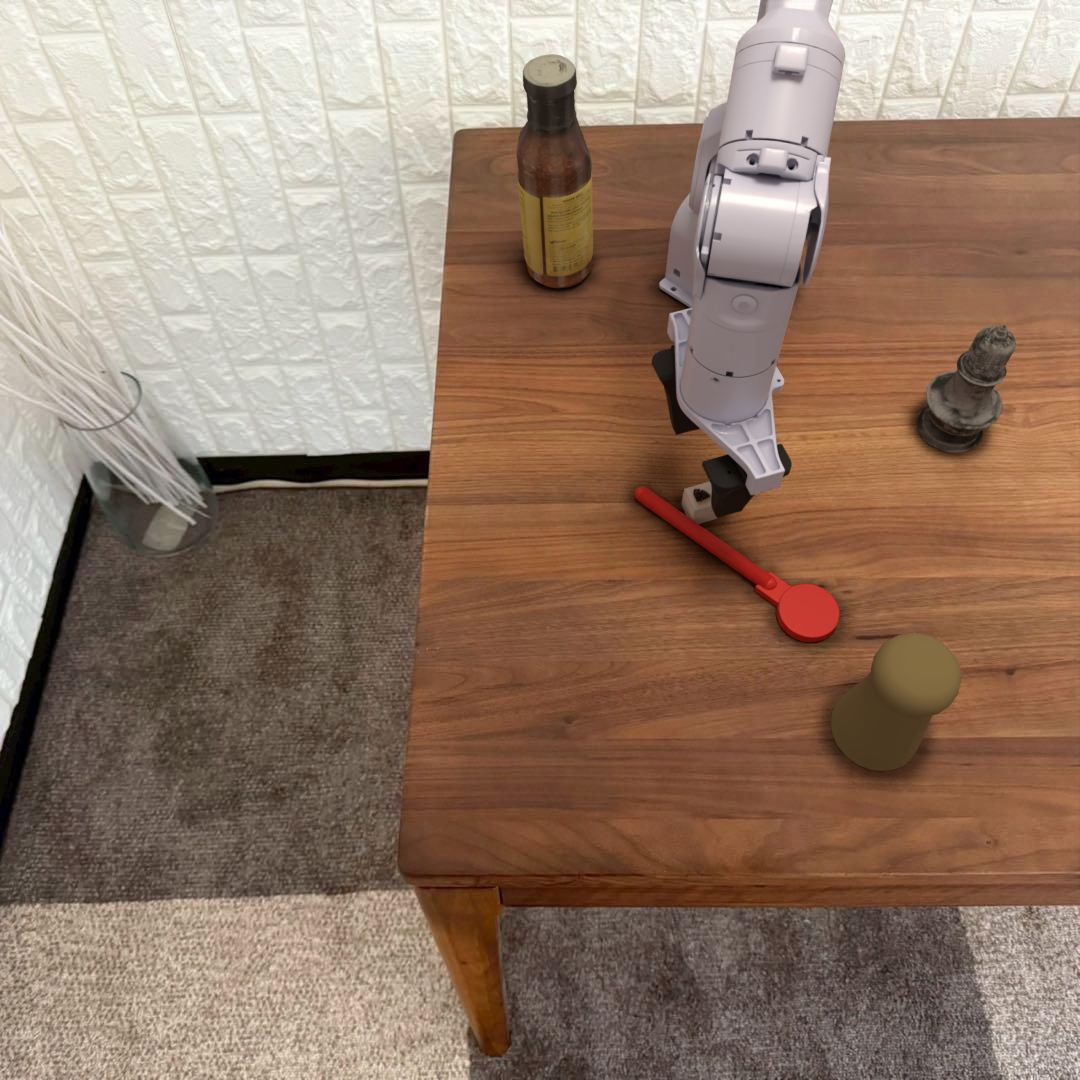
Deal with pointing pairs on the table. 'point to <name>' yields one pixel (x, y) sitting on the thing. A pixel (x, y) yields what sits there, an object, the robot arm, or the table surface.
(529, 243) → the sauce bottle
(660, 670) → the table surface
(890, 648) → the cork
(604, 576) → the table surface
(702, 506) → the cube with dark pebbles
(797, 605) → the spoon
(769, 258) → the robot arm
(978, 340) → the chess piece
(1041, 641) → the table surface
